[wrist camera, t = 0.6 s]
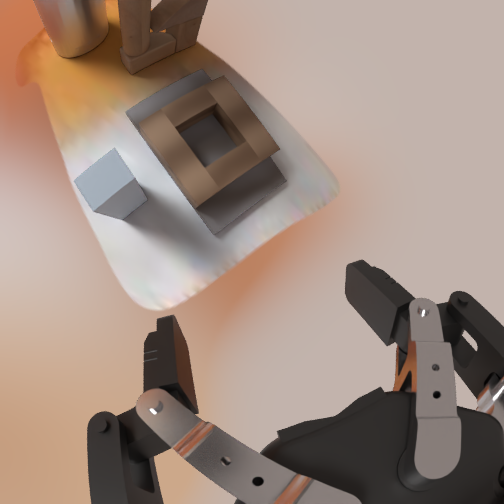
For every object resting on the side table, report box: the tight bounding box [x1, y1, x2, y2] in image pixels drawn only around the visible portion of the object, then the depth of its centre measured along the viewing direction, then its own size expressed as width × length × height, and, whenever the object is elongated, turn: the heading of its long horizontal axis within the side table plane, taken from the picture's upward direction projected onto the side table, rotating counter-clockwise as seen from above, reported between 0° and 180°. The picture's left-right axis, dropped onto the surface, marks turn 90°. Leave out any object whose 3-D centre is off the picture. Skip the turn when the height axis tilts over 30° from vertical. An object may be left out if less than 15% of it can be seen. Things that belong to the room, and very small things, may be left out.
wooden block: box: [118, 0, 208, 74], centre depth 21 cm, size 4×11×18 cm, turn 127°
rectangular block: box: [74, 148, 147, 220], centre depth 24 cm, size 3×4×14 cm
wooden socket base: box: [126, 69, 286, 235], centre depth 31 cm, size 20×12×4 cm, turn 37°
